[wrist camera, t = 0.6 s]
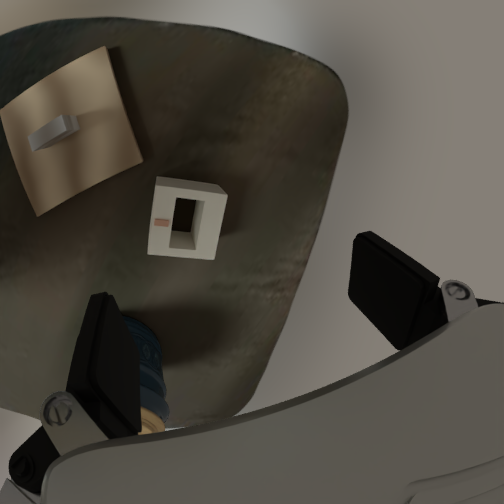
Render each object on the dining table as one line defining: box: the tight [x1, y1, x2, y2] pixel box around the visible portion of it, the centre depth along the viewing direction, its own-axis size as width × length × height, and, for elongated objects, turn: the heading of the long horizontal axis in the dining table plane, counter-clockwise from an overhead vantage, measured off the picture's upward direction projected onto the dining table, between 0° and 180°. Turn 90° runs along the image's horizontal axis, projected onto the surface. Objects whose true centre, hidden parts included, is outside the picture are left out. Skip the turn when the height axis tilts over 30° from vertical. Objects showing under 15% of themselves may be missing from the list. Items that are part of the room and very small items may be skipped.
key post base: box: [0, 46, 144, 217], centre depth 20 cm, size 14×14×6 cm
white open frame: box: [148, 176, 228, 260], centre depth 28 cm, size 7×7×5 cm
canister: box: [122, 316, 169, 435], centre depth 28 cm, size 13×13×18 cm
